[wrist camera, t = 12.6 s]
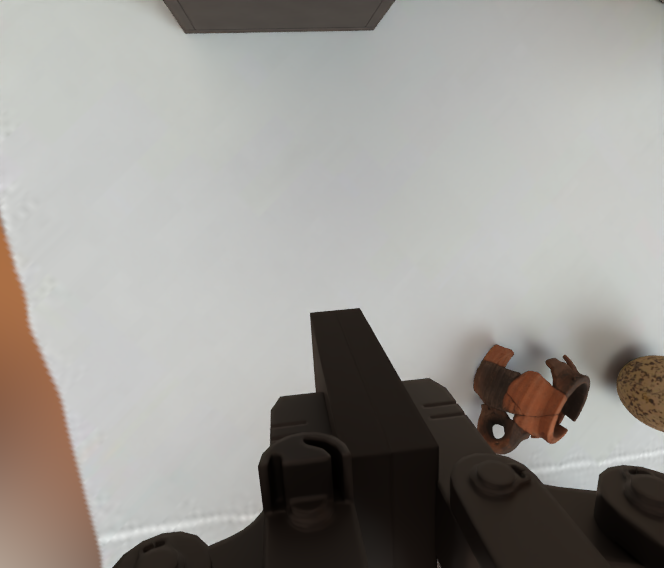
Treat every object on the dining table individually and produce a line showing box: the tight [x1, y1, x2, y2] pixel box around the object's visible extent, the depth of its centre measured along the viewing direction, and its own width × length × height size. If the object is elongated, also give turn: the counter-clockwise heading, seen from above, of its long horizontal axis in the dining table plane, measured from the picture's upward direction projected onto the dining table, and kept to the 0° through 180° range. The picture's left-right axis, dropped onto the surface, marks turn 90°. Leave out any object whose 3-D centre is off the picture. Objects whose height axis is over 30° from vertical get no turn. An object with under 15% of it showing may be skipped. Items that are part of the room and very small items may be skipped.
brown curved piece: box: [474, 345, 590, 454], centre depth 43 cm, size 12×10×8 cm
